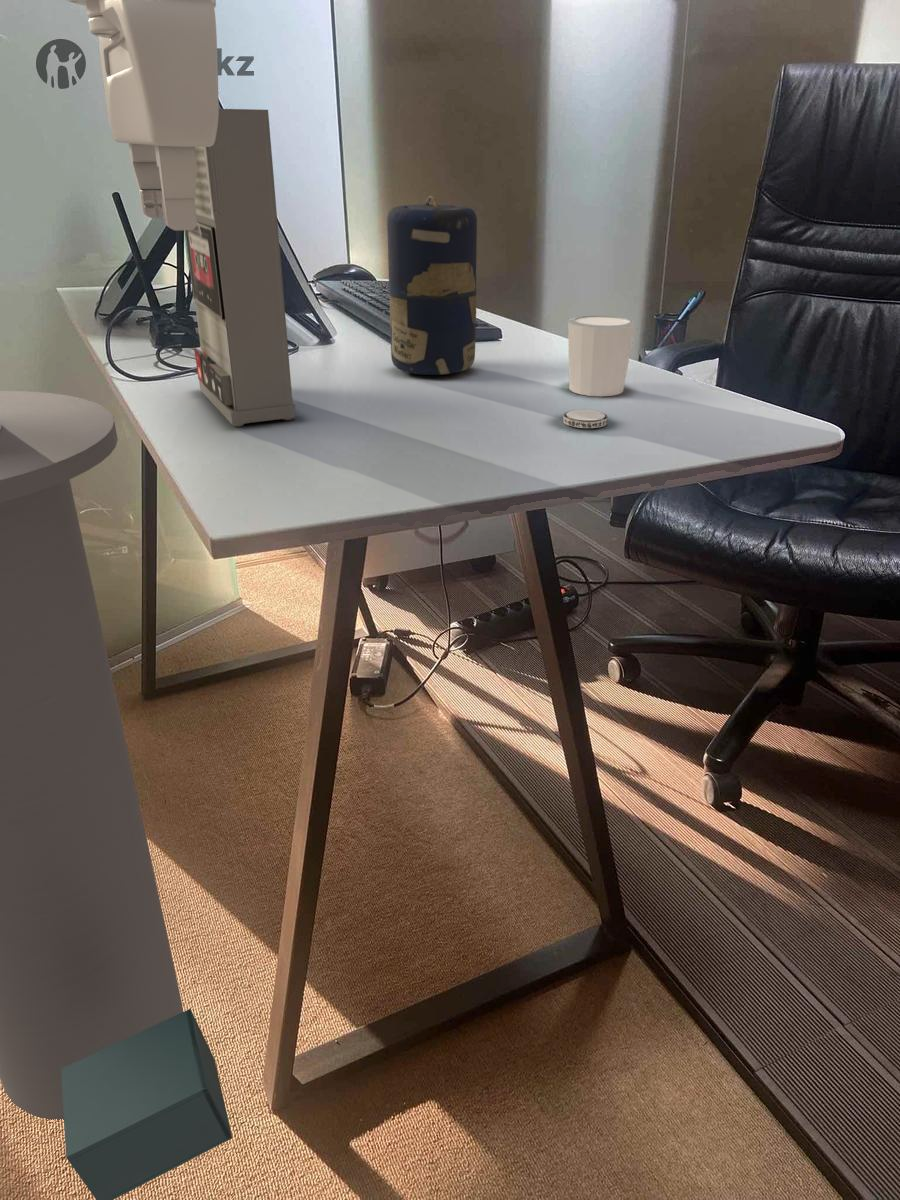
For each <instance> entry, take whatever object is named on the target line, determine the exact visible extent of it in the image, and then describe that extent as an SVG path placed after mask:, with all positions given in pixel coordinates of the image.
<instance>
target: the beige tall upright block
mask: <svg viewBox="0 0 900 1200" xmlns="http://www.w3.org/2000/svg"><path fill="white" fill-rule="evenodd" d="M270 129H271V128H270V117H269V109H253V108H251V109H250V108H249V109H248V108H246V109H245V108H219V116H218V127H217V134H216V140H215V143H214V145H213V146H211V147H195V153H196V163H197V177H196V191H195V207H196V216H197V226H196V227H195V229H193V230H183V231H184V238H185V245H186V254H187V261H188V268H189V269H188V270H189V276H190V283H191V284H190V285H191V291H192V299H193V301H194V307H195V313H196V322H197V329H198V337H199V346H200V351H199V349H197V348H195V347H194V348H193V350H194V356H195V364H196V371H197V379H198V382H199V383H198V384H199V390H200V391H201V392H202V393H203V395H204V396H205V397H206V398H207V399H208V400H209V401H210V403H212V405H213V406H214V407H215V408H216V409H217V410H218V411H219V412H220V413H221V414H222V416H224V417H225V419H226V420H227V421H228V422H229V423H230V425H232V426H233V427H243V426H245V424H250V423H251V424H252V423H260V422H268V421H274V420H275V421H276V420H283V421H292V420H294V418H296V407H295V405H296V404H294V401H293V390H292V380H291V377H292V376H291V367H290V356H289V355H290V354H289V343H288V330H287V320H286V307H285V306H286V305H285V295H284V284H283V271H282V260H281V247H280V236H279V224H278V213H277V201H276V199H277V198H276V188H275V187H276V186H275V177H274V163H273V152H272V142H271V141H272V139H271V130H270Z"/></svg>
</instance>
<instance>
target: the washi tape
mask: <svg viewBox="0 0 900 1200" xmlns="http://www.w3.org/2000/svg"><path fill="white" fill-rule="evenodd" d="M562 418H563V419H562V422H563V424H565V425H567V426H569V427H572V428H573V427H574V428H579V429H597V428H603V427H605V426H606V425H607V424H608V415H607V414H606V413H604V412H602V411H598V410H590V409H573V410H568V411H566V412H564V413H563V417H562Z"/></svg>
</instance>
